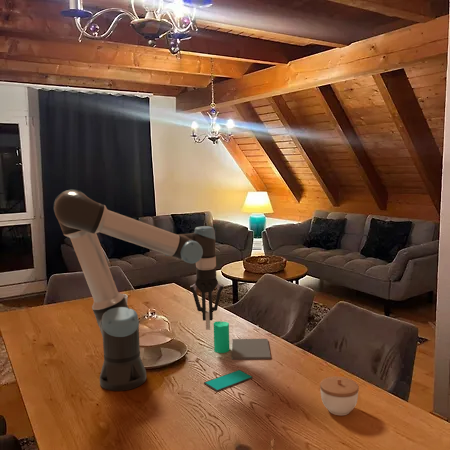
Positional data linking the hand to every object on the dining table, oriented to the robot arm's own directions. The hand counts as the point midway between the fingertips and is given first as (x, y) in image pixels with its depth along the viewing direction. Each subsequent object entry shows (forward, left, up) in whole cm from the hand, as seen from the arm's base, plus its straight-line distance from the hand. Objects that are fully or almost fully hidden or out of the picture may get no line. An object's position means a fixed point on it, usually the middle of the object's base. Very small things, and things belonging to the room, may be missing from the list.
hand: (208, 328), depth 182 cm
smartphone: (-26, -8, -9) cm, 29 cm away
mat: (0, -16, -9) cm, 18 cm away
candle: (0, -5, -9) cm, 10 cm away
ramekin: (+51, +49, -9) cm, 71 cm away
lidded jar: (-45, -40, -9) cm, 61 cm away
